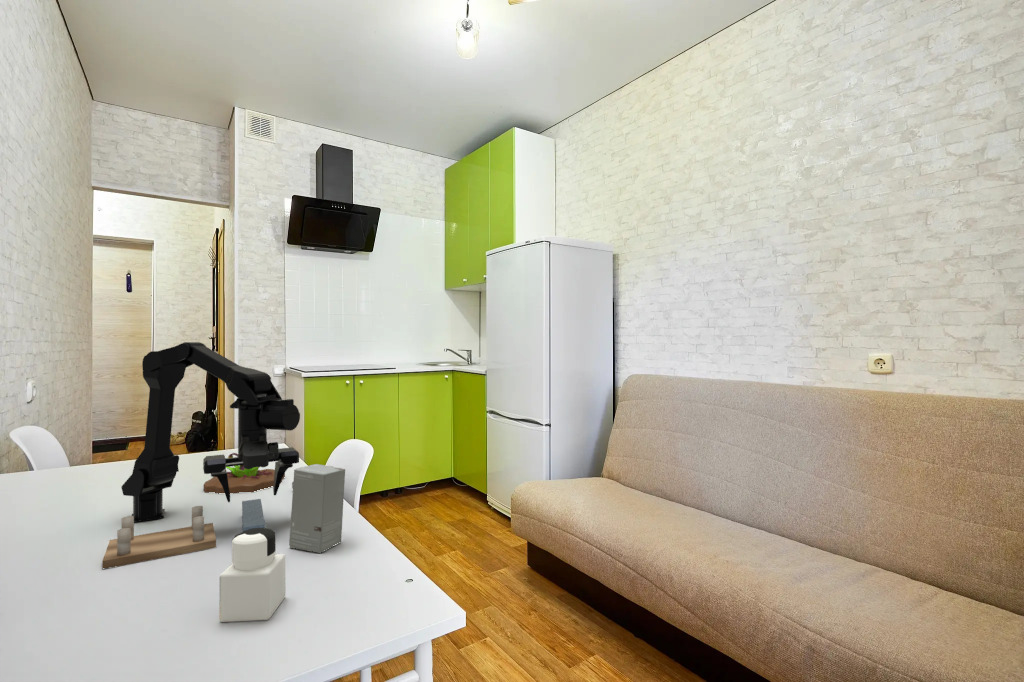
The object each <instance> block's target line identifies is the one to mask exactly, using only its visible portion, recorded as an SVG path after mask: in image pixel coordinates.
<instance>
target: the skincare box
mask: <svg viewBox="0 0 1024 682" xmlns="http://www.w3.org/2000/svg"><path fill="white" fill-rule="evenodd" d="M345 478H346V468H342V467H336V466H334V465H326V464H325V465H324V464H319V463H315V464H310V465H307V466H301V467H297V468H295V469H293V481H292V482H293V489H292V499H291V509H290V510H291V511H290V512H291V513H290V526H289V527H290V530H289V542H288V543H289V544H288V545H289V548H291V549H295V548H296V549H295V550H302V551H306V550H307V551H306V552H312V551H313V553H317V554H322V553H323V551H324V550H326V549H328V548H330V547H332V546H333V545H335V544H337V543H339V542H341V543H342V533H343V531H342V530H343V512H344V495H345V493H344V492H345V484H346V483H345V482H346V479H345ZM332 548H333V547H332ZM330 549H331V548H330ZM328 550H329V549H328ZM326 551H327V550H326ZM321 552H322V553H321ZM324 552H325V551H324Z"/></svg>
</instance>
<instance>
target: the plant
mask: <svg viewBox="0 0 1024 682" xmlns="http://www.w3.org/2000/svg"><path fill="white" fill-rule="evenodd" d="M234 456H235V457H238V452H237V453H236V452H232V453H230V454H229V455H228V457H227V458H234ZM242 461H243V460H242ZM259 468H260V467H255V468H252V469H245V468H244V467H243V465H239V466H230V467H226V469H227V470H229V471H227V476H228V484H229V491H230V493H233V494H240V493H239V492H251V493H255V492H254V491H256V492H258V491H257V490H260V489H263V490H265V489H264V488H268V487H271V486H273V484H274V473H275V469H272V468H264V469H259ZM284 477H285V478H286V472H285V473H284V475H283V477H282V479H283V478H284ZM285 478H284V479H285ZM284 479H283V480H284ZM283 480H281V482H282V483H283ZM271 488H272V487H271ZM268 489H269V488H268ZM260 491H261V490H260ZM203 492H204V493H205V494H209V492H215V493H214V494H217V493H218V494H217V495H220V494H219V493H225V492H224V490H223V487H222V485H221V483H220V481H219V479H218V478H217V477H211V478H210V479H208V480H207V481H205V482H204V483H203Z"/></svg>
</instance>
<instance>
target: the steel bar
mask: <svg viewBox="0 0 1024 682" xmlns="http://www.w3.org/2000/svg"><path fill="white" fill-rule="evenodd" d="M241 521H242V526H243V527H242V531H245V530H248V529H253V528H266V523H265V515H264V510H263V505H262V498H255V499H249V500H242V501H241Z"/></svg>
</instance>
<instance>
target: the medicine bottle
mask: <svg viewBox="0 0 1024 682" xmlns="http://www.w3.org/2000/svg"><path fill="white" fill-rule="evenodd" d="M276 535H277V533H276V532H275V531H274V530H273V529H271V528H267V527H265V528H253V529H248V530H245V531H243V530H242V531H241V532H238V533H237V534H235V535H234V537H233V538H232V540H231V565H229V566H228V567H227V568H226V569H225V570H224V571H223V572H222V573H221V574H219V622H221V623H232V622H233V623H234V622H252V621H268V620H270V618H271V617H272V616H273V614H275V611H276V610H277V609H278V608H279V606H280V605H281V604H282V602H283V601H284V599H285V597H286V554H285V553H276V548H277V545H276V542H277V541H276V540H277V539H276Z"/></svg>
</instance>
